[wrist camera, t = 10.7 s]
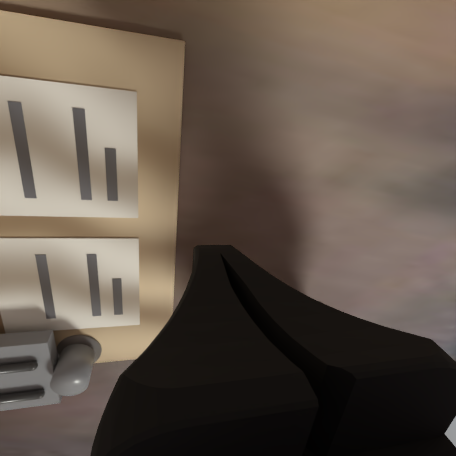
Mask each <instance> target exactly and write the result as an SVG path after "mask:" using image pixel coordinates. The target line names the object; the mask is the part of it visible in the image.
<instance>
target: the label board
mask: <svg viewBox="0 0 456 456" xmlns="http://www.w3.org/2000/svg"><path fill="white" fill-rule="evenodd" d="M184 55H185V41H182V40H176V39H170V38H164V37H158V36H152V35H146V34H140V33H134V32H128V31H122V30H116V29H110V28H104V27H98V26H92V25H86V24H80V23H74V22H68V21H62V20H56V19H50V18H44V17H38V16H32V15H26V14H20V13H14V12H8V11H2V10H0V334H6V333H19V332H31V331H44V330H53V333H54V338H55V343H56V348H57V353H58V358H59V356H60V354H61V351H62V350H63V349H64V348H65V347H67V346H69V345H72V344H84V345H87V346H89V347H91V348H92V349H93V350H94V352H95V358H94V362H93V363H101V362H111V361H122V360H132V359H137V358H138V357H139V356H140V355H141V354H142V353H143V352H144V351H145V350H146V348H147V347H148V346H149V345H150V344H151V342H152V341H153V340H154V339H155V337H156V336H157V335H158V334H159V332H160V331H161V330H162V329H163V327H164V326H165V325H166V323H167V322H168V320H169V319H170V317H171V316H172V314H173V297H174V275H175V253H176V231H177V209H178V187H179V165H180V143H181V121H182V99H183V77H184Z"/></svg>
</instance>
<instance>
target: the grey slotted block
mask: <svg viewBox="0 0 456 456" xmlns="http://www.w3.org/2000/svg"><path fill="white" fill-rule="evenodd" d="M94 358H95V352H94V350H93V349H92V348H91V347H89V346H87V345H84V344H72V345H69V346H67V347H65V348H64V349H63V350H62V351H61V354H60V356H59V358H58V353H57V348H56V343H55V338H54V333H53V330H44V331H31V332H19V333H6V334H0V411H4V410H12V409H19V408H27V407H34V406H41V405H49V404H56V403H60V402H61V399H62V396H73V395H77V394H80V393H82V392H83V391H84V390H86V388H87V387H88V384H89V380H90V376H91V371H92V367H93V362H94Z"/></svg>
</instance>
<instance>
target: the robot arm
mask: <svg viewBox="0 0 456 456" xmlns="http://www.w3.org/2000/svg"><path fill="white" fill-rule="evenodd" d="M455 416H456V362H455V361H454V360H453V359H452V358H451V357H450V356H449V355H448V354H447V353H446V352H445V351H444V350H443V349H441V348H440V347H439V346H438V345H437V344H436V343H435V342H434V341H433V340H431V339H428V338H425V337H421V336H417V335H414V334H410V333H406V332H402V331H399V330H395V329H391V328H388V327H384V326H381V325H378V324H375V323H372V322H369V321H366V320H363V319H360V318H357V317H355V316H352V315H349V314H347V313H344V312H341V311H339V310H337V309H334V308H332V307H330V306H327V305H325V304H323V303H321V302H318V301H316V300H314V299H312V298H310V297H308V296H306V295H304V294H303V293H301V292H299V291H297V290H295V289H293V288H291V287H290V286H288V285H286V284H285V283H283V282H282V281H280V280H278V279H277V278H275V277H274V276H272V275H271V274H269V273H268V272H266V271H265V270H264V269H262V268H261V267H259V266H258V265H257V264H255V263H254V262H253V261H251V260H250V259H249V258H247V257H246V256H245V255H243V254H242V253H241V252H239V251H238V250H237V249H235V248H234V247H233V246H231V245H197V246H196V247H195V248H194V251H193V269H192V274H191V277H190V280H189V282H188V285H187V288H186V290H185V292H184V294H183V296H182V298H181V300H180V302H179V304H178V306H177V308H176V309H175V311H174V312H173V314H172V316H171V317H170V319H169V320H168V322H167V323H166V325H165V326H164V327H163V329H162V330H161V331H160V332H159V334H158V335H157V336H156V337H155V339H154V340H153V341H152V342H151V344H150V345H149V346H148V347H147V348H146V350H145V351H144V352H143V353H142V354H141V355H140V356H139V357H138V358H137V359H136V360H135V361H134V362H133V363H132V364H131V365H130V366H129V367H128V368H127V369H126V370H125V371H124V372H123V373H122V374H121V375H120V376H119V379H118V381H117V383H116V385H115V387H114V389H113V392H112V394H111V396H110V398H109V401H108V403H107V405H106V408H105V410H104V413H103V415H102V418H101V421H100V423H99V426H98V429H97V433H96V436H95V439H94V443H93V446H92V451H91V456H456V447H455V446H454V445H453V444H452V442H451V441H450V440H449V439H448V438H447V436H446V435H445V434H444V433H445V432H446V430H447V429H448V427H449V425H450V424H451V422H452V421H453V419H454V418H455Z"/></svg>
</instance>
